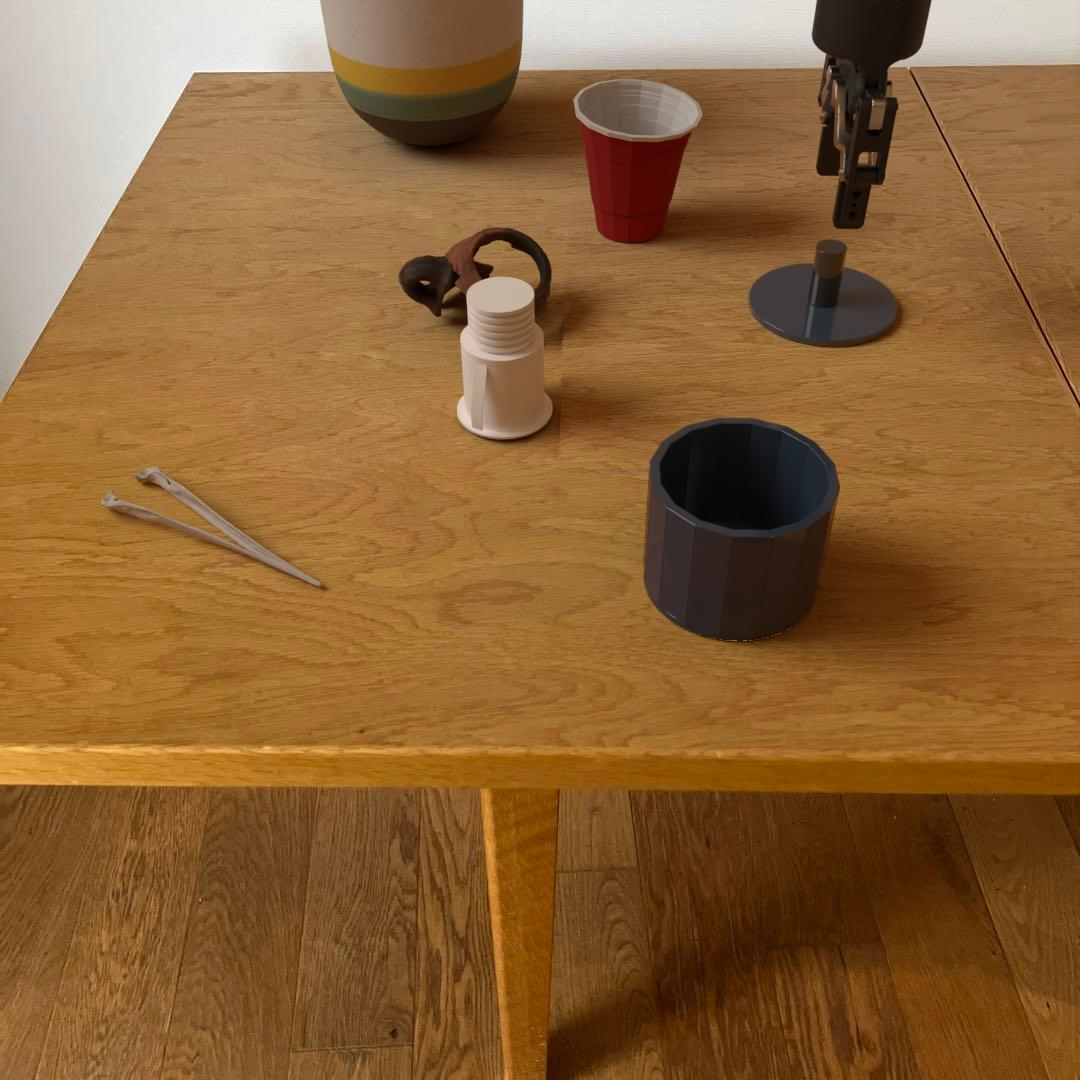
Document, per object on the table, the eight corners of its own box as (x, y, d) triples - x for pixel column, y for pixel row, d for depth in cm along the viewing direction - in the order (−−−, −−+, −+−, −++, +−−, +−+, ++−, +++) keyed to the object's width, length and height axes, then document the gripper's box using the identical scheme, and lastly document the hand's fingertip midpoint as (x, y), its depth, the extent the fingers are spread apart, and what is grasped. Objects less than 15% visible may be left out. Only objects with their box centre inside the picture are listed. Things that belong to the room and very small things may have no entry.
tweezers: (97, 512, 80) (91, 490, 79) (150, 475, 83) (145, 452, 82) (298, 624, 74) (295, 602, 73) (346, 580, 77) (344, 558, 76)
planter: (493, 185, 114) (483, -54, 100) (306, 162, 119) (271, -71, 104) (549, 104, 128) (547, -116, 114) (379, 86, 132) (357, -129, 118)
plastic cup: (660, 275, 102) (669, 140, 94) (549, 245, 106) (549, 113, 98) (711, 221, 109) (724, 91, 101) (606, 195, 113) (610, 67, 105)
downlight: (490, 372, 92) (484, 255, 85) (572, 397, 89) (572, 278, 83) (435, 429, 87) (425, 310, 80) (521, 457, 84) (517, 336, 77)
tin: (805, 521, 79) (824, 418, 73) (828, 643, 71) (852, 537, 65) (640, 519, 79) (646, 416, 73) (646, 640, 71) (653, 535, 65)
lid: (880, 275, 102) (894, 210, 98) (907, 354, 93) (923, 286, 89) (741, 274, 102) (748, 210, 98) (755, 353, 93) (763, 285, 89)
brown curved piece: (514, 276, 103) (549, 216, 96) (535, 372, 100) (573, 317, 93) (379, 269, 98) (405, 205, 91) (397, 369, 95) (426, 311, 88)
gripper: (959, 12, 74) (906, 247, 85) (913, -60, 85) (871, 158, 96) (838, 11, 74) (800, 246, 86) (807, -60, 85) (777, 157, 96)
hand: (837, 199), depth 91 cm, fingers open, 8 cm apart
